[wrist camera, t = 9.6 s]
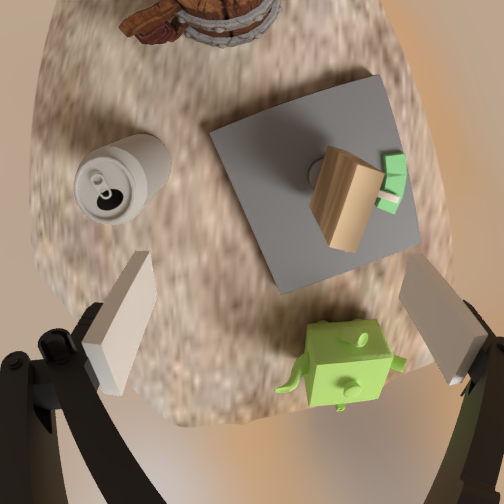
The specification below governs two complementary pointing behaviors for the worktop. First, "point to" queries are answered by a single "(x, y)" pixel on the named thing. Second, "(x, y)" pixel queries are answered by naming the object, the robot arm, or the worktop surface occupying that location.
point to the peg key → (344, 196)
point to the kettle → (343, 363)
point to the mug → (203, 21)
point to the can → (121, 178)
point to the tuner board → (299, 189)
